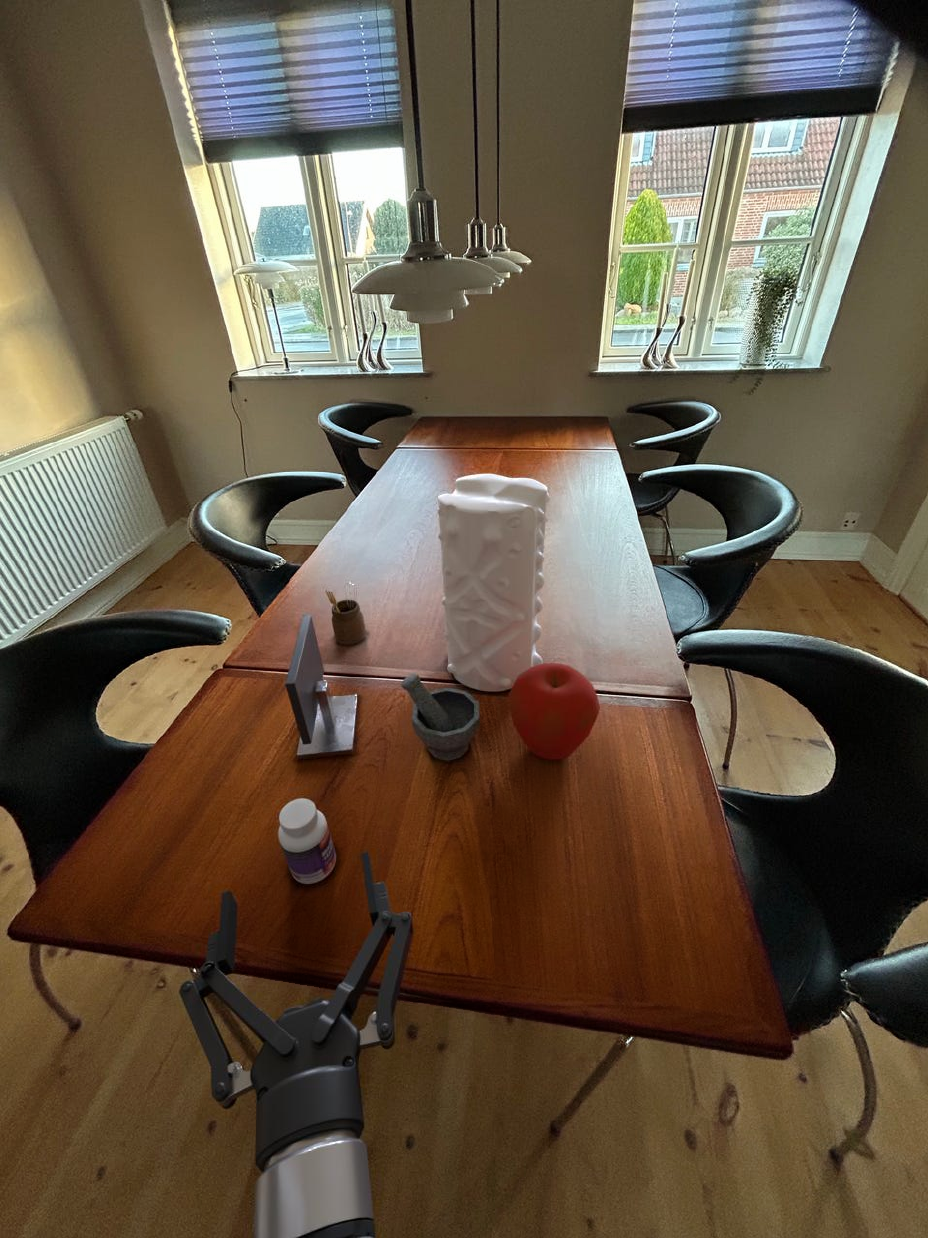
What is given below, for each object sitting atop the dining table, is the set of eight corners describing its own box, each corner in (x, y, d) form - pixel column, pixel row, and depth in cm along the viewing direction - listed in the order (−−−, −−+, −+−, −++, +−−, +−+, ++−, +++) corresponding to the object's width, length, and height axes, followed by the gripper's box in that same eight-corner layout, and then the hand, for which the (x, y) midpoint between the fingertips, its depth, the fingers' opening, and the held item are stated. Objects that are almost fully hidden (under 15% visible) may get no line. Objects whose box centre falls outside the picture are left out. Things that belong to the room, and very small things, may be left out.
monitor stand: (297, 759, 77) (284, 717, 72) (308, 703, 87) (297, 663, 82) (352, 754, 78) (343, 711, 73) (357, 698, 88) (349, 658, 83)
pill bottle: (338, 877, 62) (323, 827, 57) (291, 891, 61) (271, 841, 55) (334, 838, 66) (320, 787, 61) (290, 850, 65) (272, 799, 60)
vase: (428, 679, 91) (412, 502, 73) (468, 628, 103) (462, 466, 85) (522, 705, 85) (529, 520, 67) (552, 649, 97) (564, 478, 79)
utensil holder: (372, 632, 103) (364, 579, 97) (351, 650, 99) (341, 595, 92) (349, 624, 106) (339, 572, 99) (327, 641, 101) (315, 587, 95)
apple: (491, 746, 78) (490, 673, 70) (542, 705, 85) (546, 634, 77) (558, 795, 71) (566, 718, 63) (608, 746, 77) (621, 671, 69)
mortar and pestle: (489, 729, 81) (488, 668, 74) (470, 776, 74) (467, 713, 67) (421, 714, 84) (414, 654, 77) (396, 758, 77) (386, 696, 70)
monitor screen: (301, 744, 73) (284, 684, 67) (316, 671, 86) (302, 615, 80) (311, 744, 73) (294, 683, 67) (324, 670, 86) (311, 614, 80)
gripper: (138, 1244, 37) (181, 935, 54) (480, 1103, 42) (421, 864, 59) (92, 1223, 32) (154, 896, 49) (479, 1070, 38) (415, 823, 55)
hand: (299, 878), depth 54 cm, fingers open, 13 cm apart
